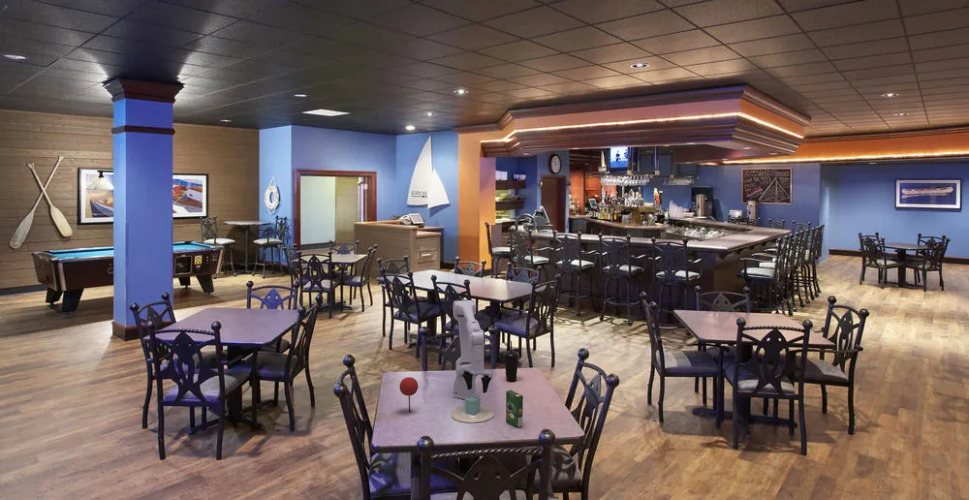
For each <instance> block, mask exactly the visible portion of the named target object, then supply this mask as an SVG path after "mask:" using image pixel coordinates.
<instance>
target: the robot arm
mask: <svg viewBox="0 0 969 500" xmlns="http://www.w3.org/2000/svg"><path fill="white" fill-rule="evenodd" d="M452 311H453V312H452V315H453V318H454V320H456V321H457V324H458V330H459V331H458V332H459V333H458V334H459V343H460V344H459V345H460V357H458V358H457V360H456V361H455V375H456V377H455V378H454V380H453V395H452V397H453V398H455V399H456V398H457V399H461V400H465V399H467V398H469V397H471V396H472V397H477V398H478V396H480V394H479V393H476V379H477V377H478V376H479V375H480V376H482V377H480V380H481V384H482V394H486V393H488V389H489V385H490V382H491V380H492V378H493V376H494V372H493V371H491V370H488V369H485V358H484V357H485V356H484V355H485V351H484V350H485V347H484V345H486V333H485V331H484V330H483V329H481V326H480V324H479V321H478V320H477V319H475V314H476V312H477V303H476V301H475V300H474V299H469V300H453V303H452Z"/></svg>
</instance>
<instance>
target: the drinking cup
mask: <svg viewBox="0 0 969 500" xmlns="http://www.w3.org/2000/svg"><path fill="white" fill-rule="evenodd" d="M509 348H510V350H508V351H506V352H504V353H503V354H502V355H503V359H504V368H505V378H506V382H508V383H515V382H517V377H518V376H517V375H518V364H519V355H520V353H519V352H518V351H514V350H513V341H512V340H510V347H509Z"/></svg>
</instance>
